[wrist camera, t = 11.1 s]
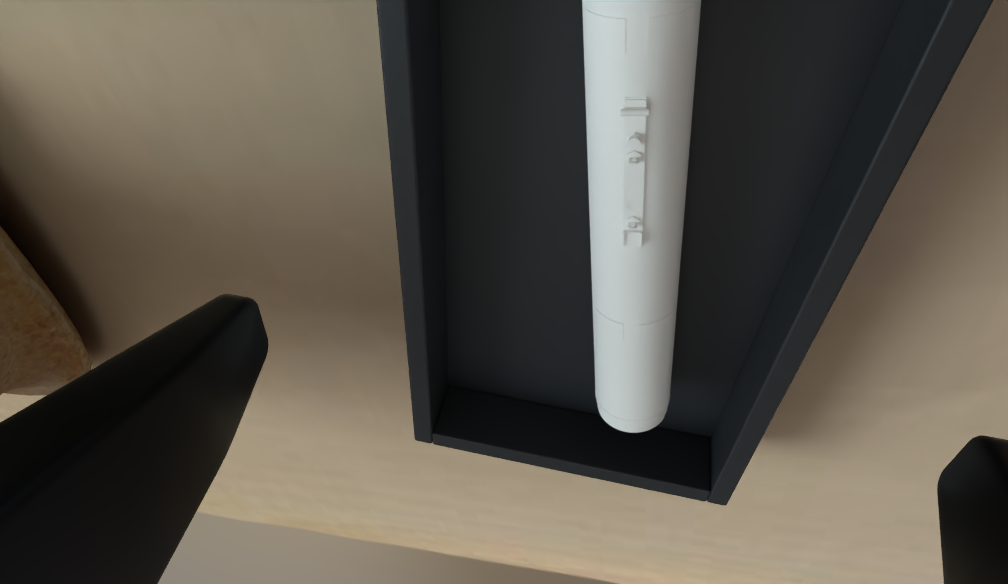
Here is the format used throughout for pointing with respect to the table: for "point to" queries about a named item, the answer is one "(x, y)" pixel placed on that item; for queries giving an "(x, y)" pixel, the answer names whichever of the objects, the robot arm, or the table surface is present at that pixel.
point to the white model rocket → (637, 194)
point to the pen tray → (706, 229)
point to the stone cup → (34, 331)
